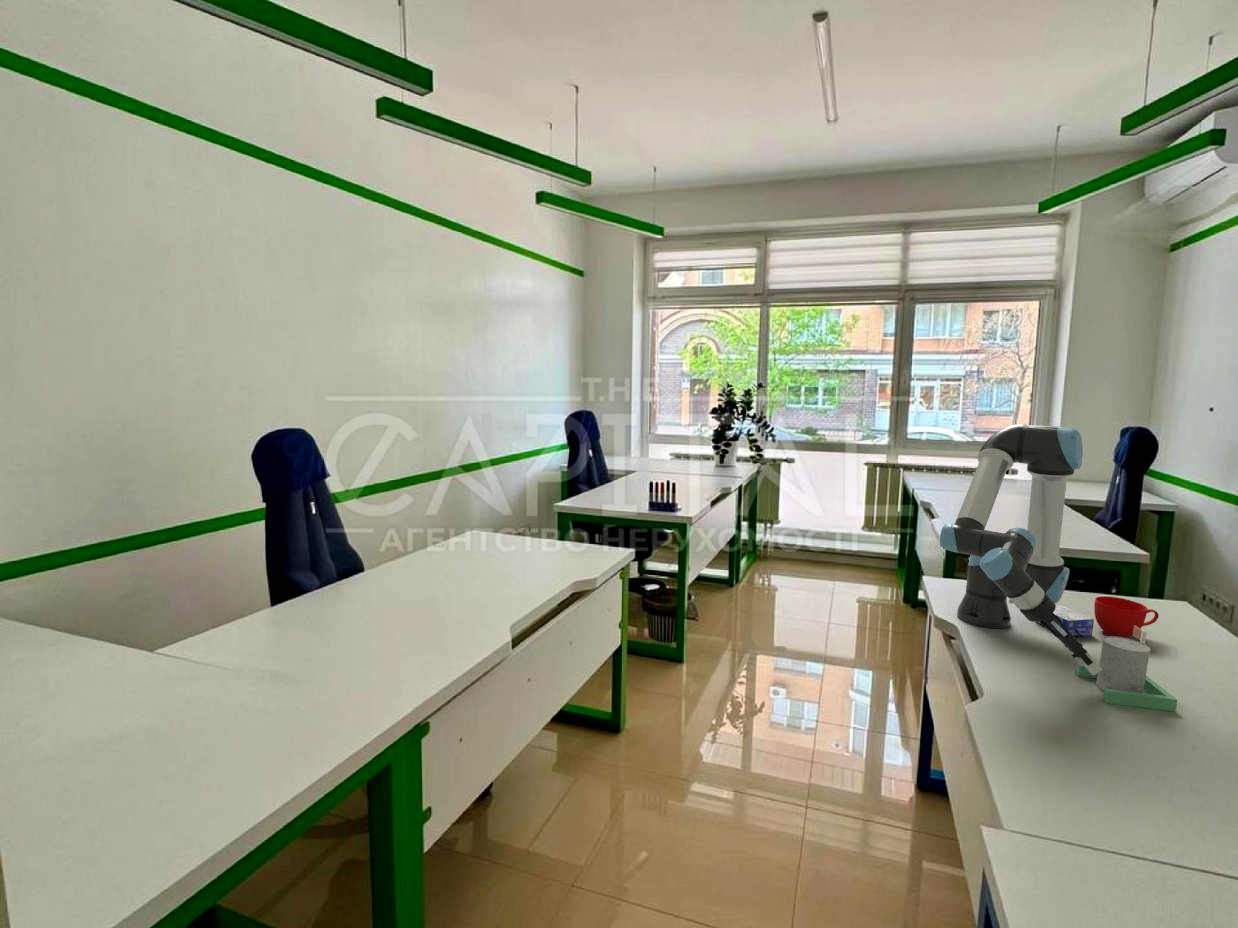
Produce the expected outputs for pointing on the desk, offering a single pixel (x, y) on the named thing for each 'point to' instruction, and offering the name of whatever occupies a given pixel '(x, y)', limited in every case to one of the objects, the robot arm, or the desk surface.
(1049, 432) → the robot arm
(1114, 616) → the ceramic cup
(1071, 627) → the ink cartridge box
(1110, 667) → the speckled concrete drum
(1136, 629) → the green angular frame
